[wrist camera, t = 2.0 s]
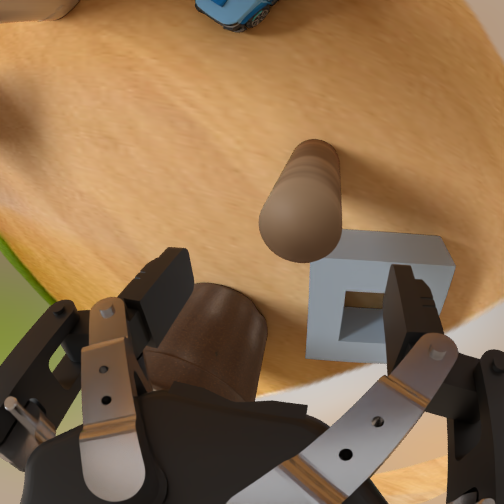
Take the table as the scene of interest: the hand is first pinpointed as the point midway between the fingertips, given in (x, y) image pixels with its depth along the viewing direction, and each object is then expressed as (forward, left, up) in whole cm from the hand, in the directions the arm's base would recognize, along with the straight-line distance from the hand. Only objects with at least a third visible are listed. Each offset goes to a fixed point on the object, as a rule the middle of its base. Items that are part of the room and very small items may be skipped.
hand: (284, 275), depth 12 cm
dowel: (0, 0, -16) cm, 16 cm away
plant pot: (+19, -11, -16) cm, 27 cm away
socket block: (+12, +6, -16) cm, 20 cm away
